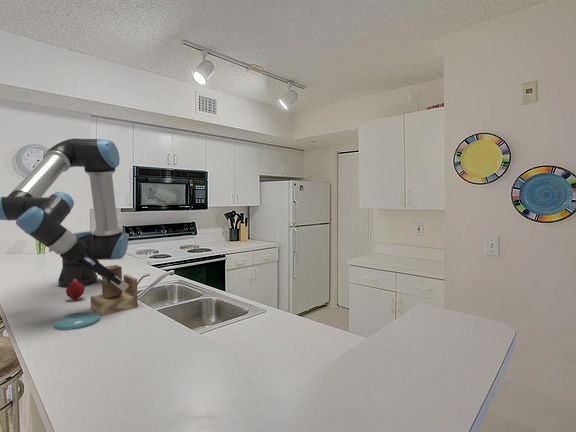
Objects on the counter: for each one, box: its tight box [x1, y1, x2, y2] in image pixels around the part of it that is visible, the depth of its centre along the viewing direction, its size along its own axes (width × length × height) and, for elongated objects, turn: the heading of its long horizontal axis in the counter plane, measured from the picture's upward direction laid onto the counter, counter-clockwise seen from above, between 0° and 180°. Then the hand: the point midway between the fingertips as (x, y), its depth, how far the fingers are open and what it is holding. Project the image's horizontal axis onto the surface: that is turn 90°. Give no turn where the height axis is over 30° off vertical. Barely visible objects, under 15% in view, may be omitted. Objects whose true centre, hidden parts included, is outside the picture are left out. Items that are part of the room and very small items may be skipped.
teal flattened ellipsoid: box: [53, 311, 101, 331], centre depth 103 cm, size 12×12×1 cm
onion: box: [65, 279, 85, 301], centre depth 126 cm, size 6×6×8 cm
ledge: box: [90, 274, 139, 316], centre depth 117 cm, size 12×11×10 cm
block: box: [101, 264, 123, 298], centre depth 117 cm, size 5×5×10 cm
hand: (123, 286), depth 119 cm, fingers closed on block, 5 cm apart
